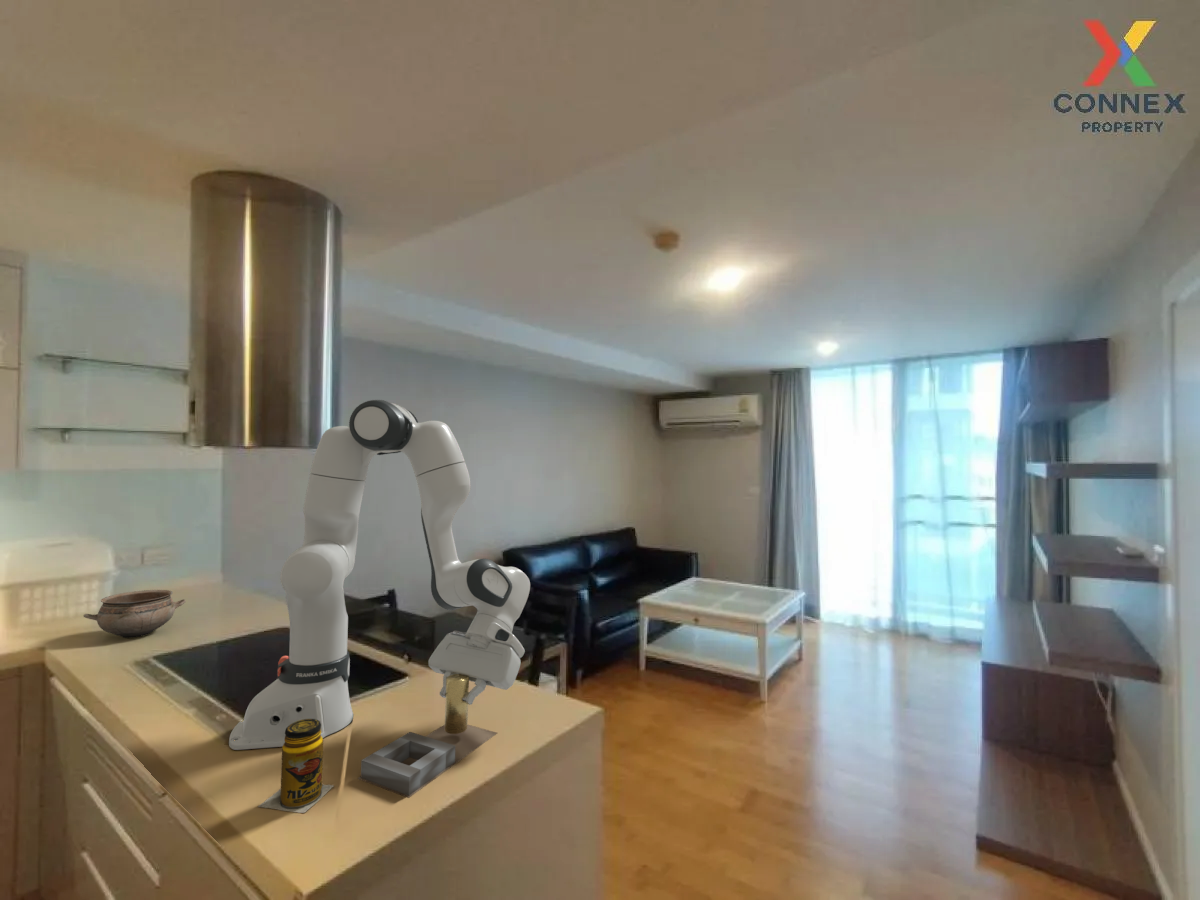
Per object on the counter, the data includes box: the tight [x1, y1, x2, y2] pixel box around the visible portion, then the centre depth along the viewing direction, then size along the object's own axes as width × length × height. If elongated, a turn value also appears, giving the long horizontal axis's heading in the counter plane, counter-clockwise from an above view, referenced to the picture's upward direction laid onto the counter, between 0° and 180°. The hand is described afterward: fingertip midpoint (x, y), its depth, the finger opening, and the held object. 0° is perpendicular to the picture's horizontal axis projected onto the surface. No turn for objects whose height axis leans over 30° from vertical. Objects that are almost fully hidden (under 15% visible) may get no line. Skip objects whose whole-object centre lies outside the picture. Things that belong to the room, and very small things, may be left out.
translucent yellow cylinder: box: [444, 674, 470, 734], centre depth 107 cm, size 4×4×10 cm
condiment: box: [257, 719, 335, 814], centre depth 89 cm, size 7×8×12 cm
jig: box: [356, 723, 498, 799], centre depth 101 cm, size 24×12×4 cm, turn 154°
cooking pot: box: [83, 589, 187, 639], centre depth 171 cm, size 25×19×12 cm
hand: (454, 699), depth 107 cm, fingers closed on translucent yellow cylinder, 4 cm apart
